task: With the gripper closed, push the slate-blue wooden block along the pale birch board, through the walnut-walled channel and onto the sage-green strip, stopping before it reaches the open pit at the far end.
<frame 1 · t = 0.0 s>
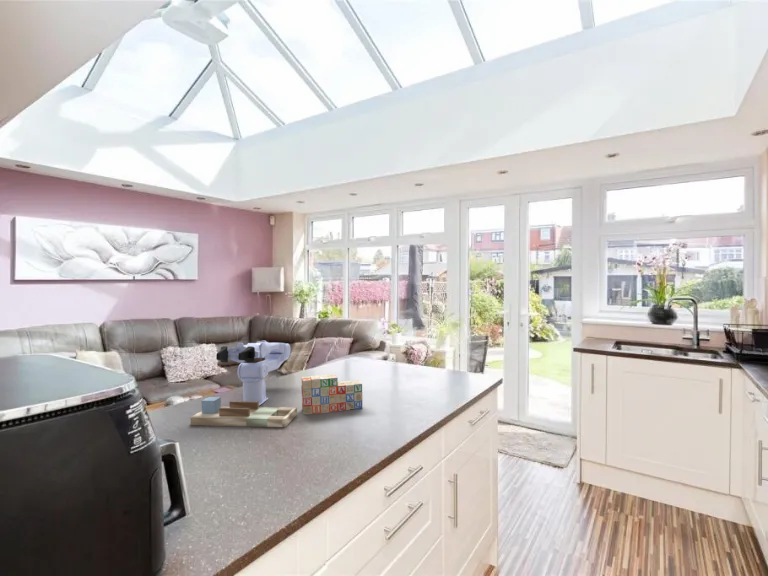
hand: (228, 356, 138), 22 cm above the worktop, tool horizontal, fingers open, 7 cm apart
block: (211, 411, 140), point 2 cm above the worktop, touching route board
stack of blocks: (332, 410, 150), on the worktop
route board: (245, 419, 139), on the worktop
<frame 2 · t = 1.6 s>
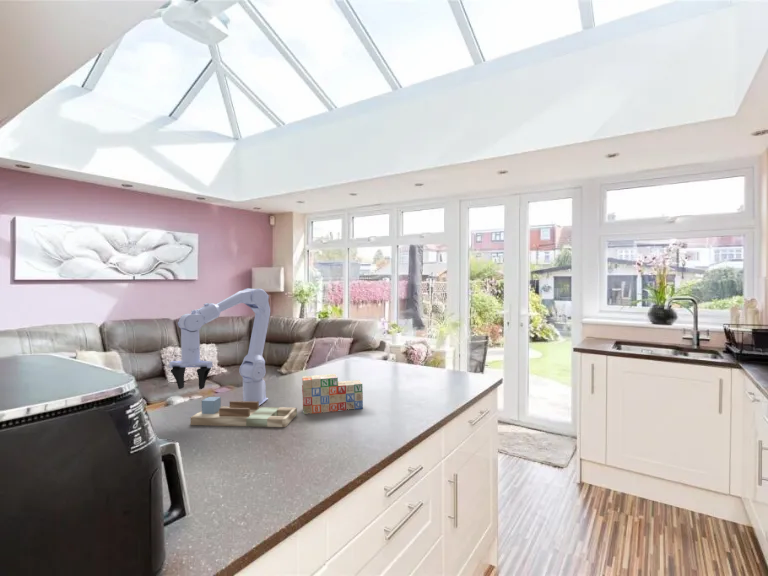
hand: (191, 388, 141), 10 cm above the worktop, tool pointing down, fingers open, 7 cm apart
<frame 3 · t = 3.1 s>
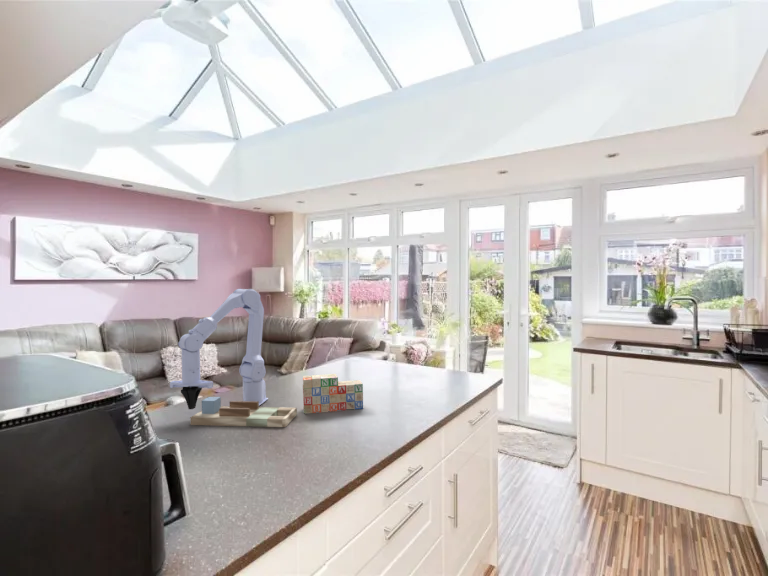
hand: (192, 408, 141), 3 cm above the worktop, tool pointing down, fingers closed
nothing on the worktop moved.
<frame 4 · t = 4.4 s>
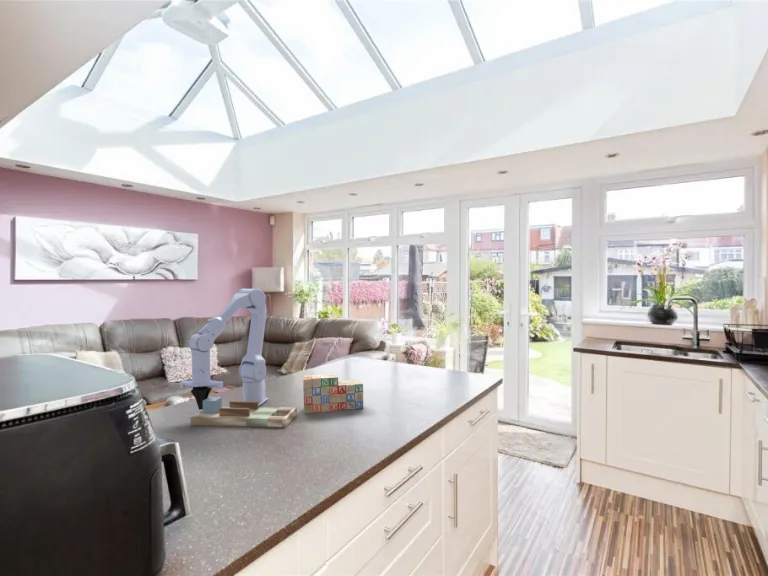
hand: (202, 408, 141), 4 cm above the worktop, tool pointing down, fingers closed
block: (212, 411, 140), point 3 cm above the worktop, touching gripper
everything else where it was.
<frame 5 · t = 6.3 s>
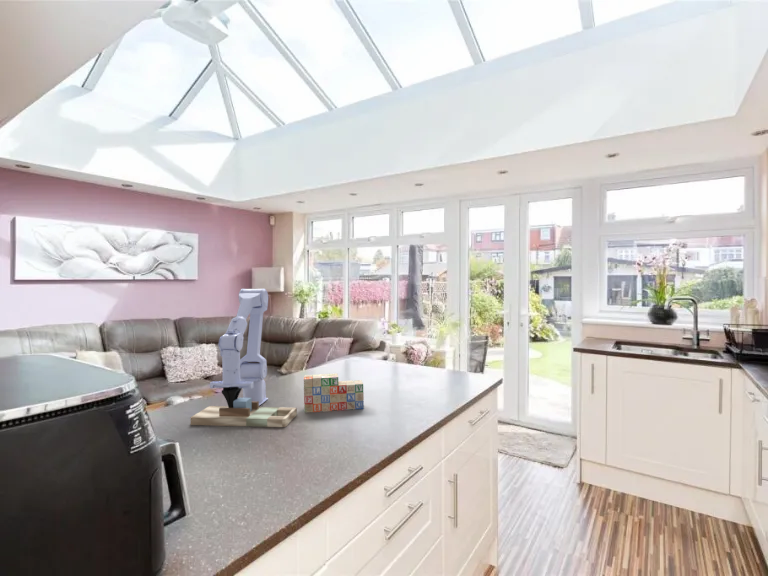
hand: (232, 409, 140), 4 cm above the worktop, tool pointing down, fingers closed
block: (242, 412, 139), point 3 cm above the worktop, touching gripper
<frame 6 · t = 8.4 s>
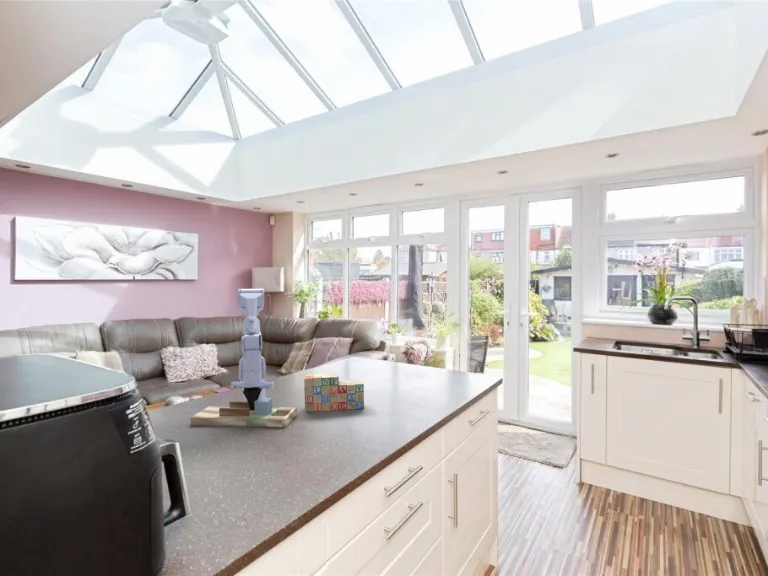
hand: (253, 409, 139), 4 cm above the worktop, tool pointing down, fingers closed
block: (263, 412, 139), point 3 cm above the worktop, touching gripper, route board
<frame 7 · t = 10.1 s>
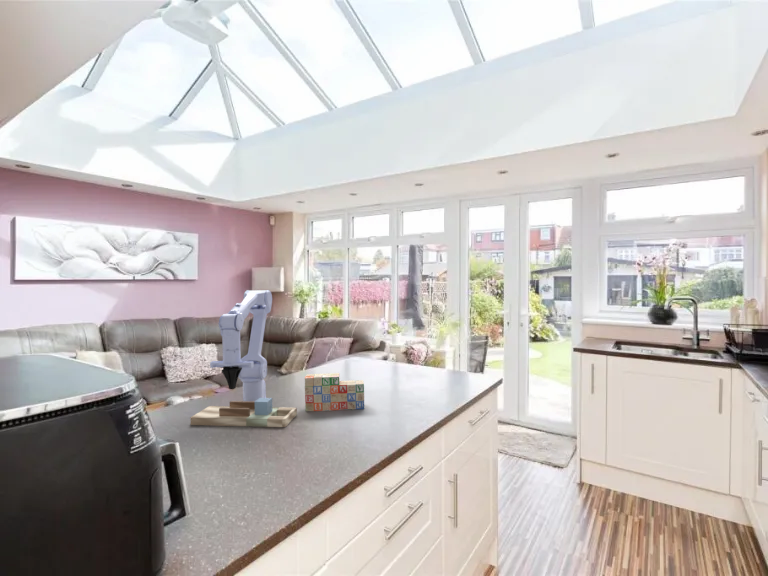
hand: (232, 388, 140), 10 cm above the worktop, tool pointing down, fingers closed
block: (263, 412, 139), point 2 cm above the worktop, touching route board
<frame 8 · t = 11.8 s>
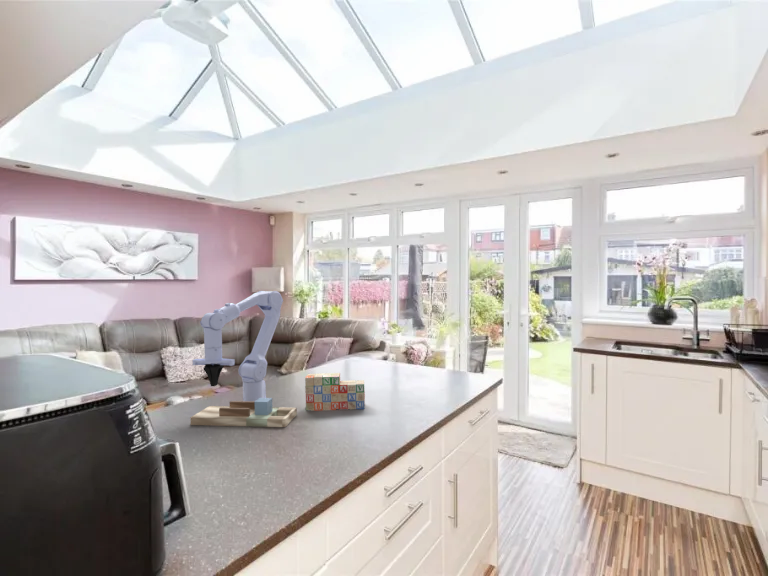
hand: (214, 385, 144), 10 cm above the worktop, tool pointing down, fingers closed
at the end: block inside the target area (0.1 cm from its centre), point 2.5 cm above the worktop; block tilted 0°; block moved 18.5 cm from its start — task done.
